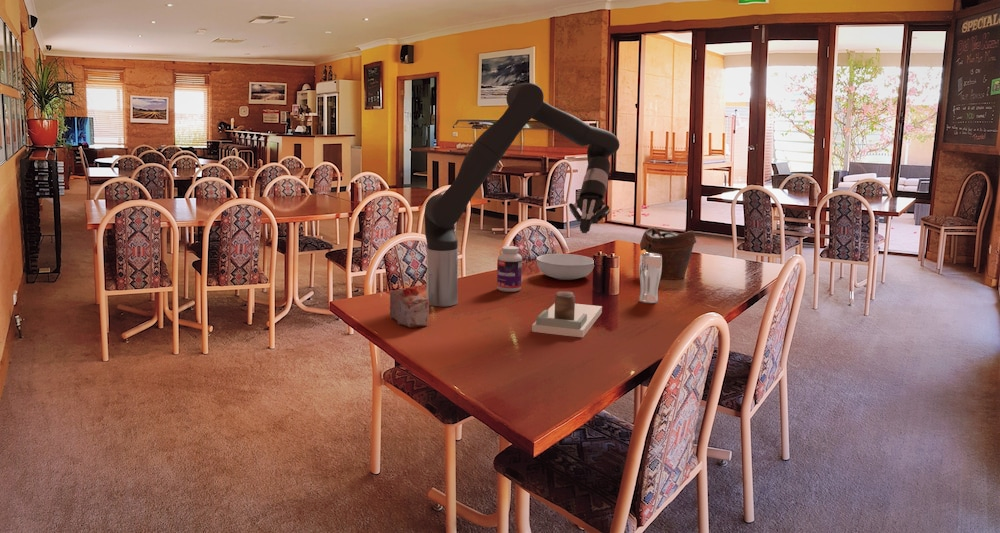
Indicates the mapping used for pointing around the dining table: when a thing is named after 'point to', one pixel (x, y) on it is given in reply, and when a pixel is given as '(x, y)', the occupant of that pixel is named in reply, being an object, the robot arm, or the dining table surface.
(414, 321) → the grey stone block
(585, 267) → the serving bowl
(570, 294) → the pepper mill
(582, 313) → the board
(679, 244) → the brown bucket
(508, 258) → the pill bottle
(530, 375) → the dining table surface
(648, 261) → the beer glass
